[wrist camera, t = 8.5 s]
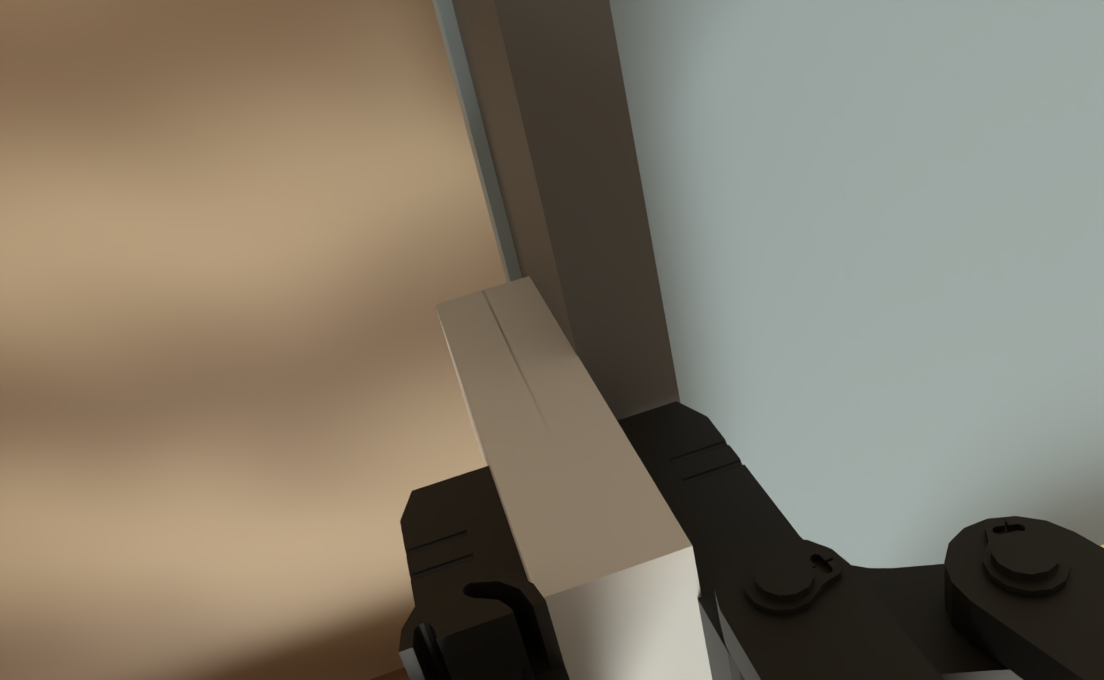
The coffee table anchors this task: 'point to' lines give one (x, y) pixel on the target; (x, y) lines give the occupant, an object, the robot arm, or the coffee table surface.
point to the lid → (819, 239)
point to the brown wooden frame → (225, 331)
